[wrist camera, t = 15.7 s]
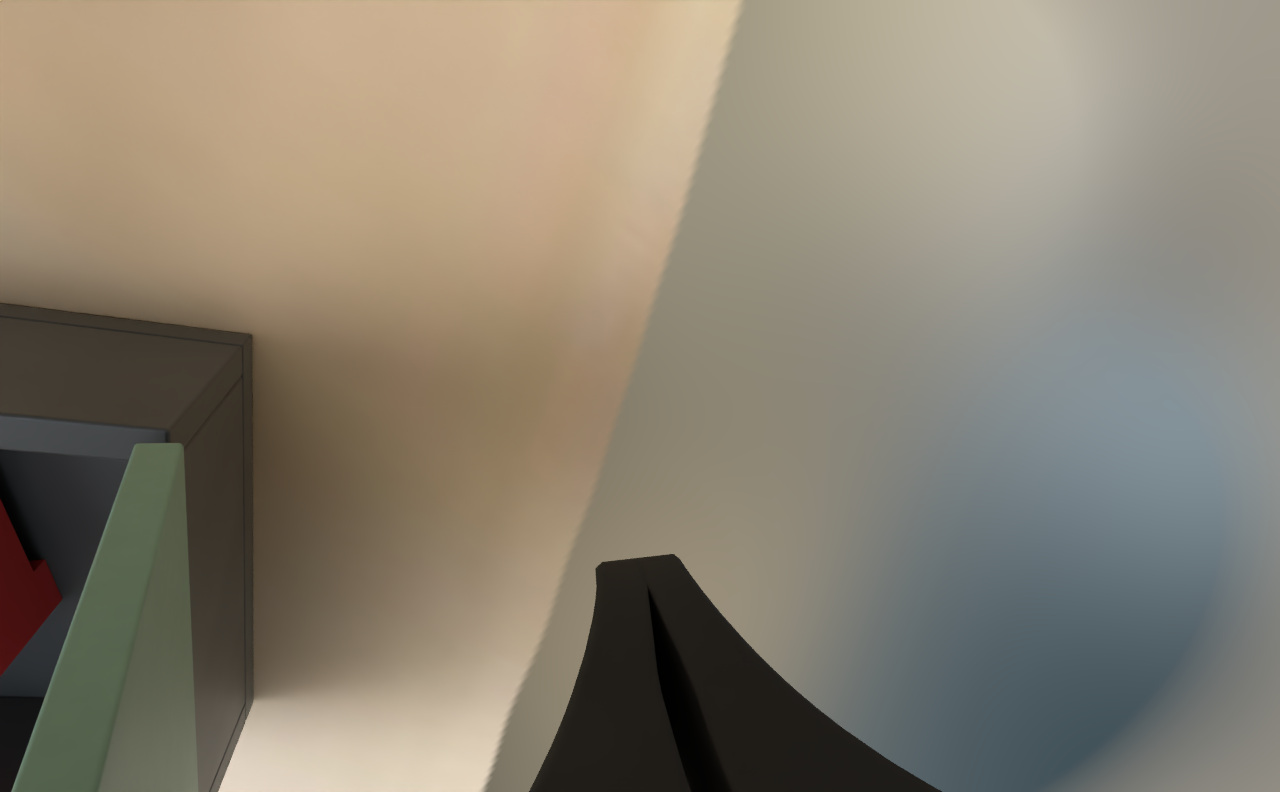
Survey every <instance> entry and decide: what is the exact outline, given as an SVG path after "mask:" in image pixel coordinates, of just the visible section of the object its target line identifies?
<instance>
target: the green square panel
mask: <svg viewBox="0 0 1280 792" xmlns="http://www.w3.org/2000/svg"><path fill="white" fill-rule="evenodd" d="M11 792H198V770H197V746H196V723H195V700H194V677H193V653H192V630H191V607H190V584H189V560H188V537H187V514H186V491H185V467H184V447H183V445H182V444H180V443H139V444H136V445H135V446H134V448H133V450H132V453H131V456H130V459H129V462H128V464H127V467H126V470H125V473H124V476H123V479H122V481H121V484H120V487H119V490H118V493H117V495H116V498H115V501H114V504H113V507H112V510H111V512H110V515H109V518H108V521H107V524H106V527H105V529H104V532H103V535H102V538H101V541H100V543H99V546H98V549H97V552H96V555H95V558H94V560H93V563H92V566H91V569H90V572H89V574H88V577H87V580H86V583H85V586H84V589H83V591H82V594H81V597H80V600H79V603H78V605H77V608H76V611H75V614H74V617H73V620H72V622H71V625H70V628H69V631H68V634H67V636H66V639H65V642H64V645H63V648H62V651H61V653H60V656H59V659H58V662H57V665H56V667H55V670H54V673H53V676H52V679H51V682H50V684H49V687H48V690H47V693H46V696H45V698H44V701H43V704H42V707H41V710H40V713H39V715H38V718H37V721H36V724H35V727H34V729H33V732H32V735H31V738H30V741H29V744H28V746H27V749H26V752H25V755H24V758H23V760H22V763H21V766H20V769H19V772H18V775H17V777H16V780H15V783H14V786H13V789H12V791H11Z"/></svg>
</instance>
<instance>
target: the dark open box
mask: <svg viewBox="0 0 1280 792" xmlns="http://www.w3.org/2000/svg"><path fill="white" fill-rule="evenodd" d="M139 443H180V444H182V445H183V447H184V467H185V491H186V514H187V537H188V560H189V584H190V607H191V630H192V653H193V677H194V700H195V723H196V746H197V770H198V792H218V790H219V788H220V785H221V783H222V780H223V778H224V775H225V772H226V770H227V767H228V765H229V762H230V760H231V757H232V755H233V752H234V749H235V747H236V744H237V742H238V739H239V737H240V734H241V732H242V729H243V726H244V724H245V720H246V719H247V716H248V714H249V711H250V709H251V706H252V703H253V437H252V335H249V334H241V333H233V332H225V331H217V330H209V329H201V328H193V327H185V326H177V325H169V324H161V323H153V322H145V321H137V320H129V319H121V318H113V317H105V316H97V315H89V314H81V313H73V312H65V311H57V310H49V309H41V308H33V307H25V306H17V305H9V304H1V303H0V499H1V501H2V504H3V506H4V508H5V510H6V512H7V515H8V517H9V519H10V521H11V523H12V525H13V528H14V530H15V532H16V534H17V536H18V539H19V541H20V543H21V545H22V547H23V550H24V552H25V554H26V556H27V558H28V561H33V560H43V559H45V561H46V563H47V565H48V567H49V570H50V572H51V574H52V576H53V579H54V581H55V583H56V585H57V588H58V590H59V592H60V594H61V597H62V600H61V602H60V603H59V604H58V605H57V607H56V608H55V609H54V610H53V612H52V613H51V614H50V615H49V617H48V618H47V619H46V620H45V622H44V623H43V624H42V625H41V626H40V628H39V629H38V630H37V631H36V633H35V634H34V635H33V636H32V638H31V639H30V640H29V641H28V643H27V644H26V645H25V646H24V648H23V649H22V650H21V651H20V653H19V654H18V655H17V656H16V658H15V659H14V660H13V661H12V663H11V664H10V665H9V666H8V668H7V669H6V670H5V671H4V673H3V674H2V675H1V676H0V792H11V791H12V789H13V786H14V783H15V780H16V777H17V775H18V772H19V769H20V766H21V763H22V760H23V758H24V755H25V752H26V749H27V746H28V744H29V741H30V738H31V735H32V732H33V729H34V727H35V724H36V721H37V718H38V715H39V713H40V710H41V707H42V704H43V701H44V698H45V696H46V693H47V690H48V687H49V684H50V682H51V679H52V676H53V673H54V670H55V667H56V665H57V662H58V659H59V656H60V653H61V651H62V648H63V645H64V642H65V639H66V636H67V634H68V631H69V628H70V625H71V622H72V620H73V617H74V614H75V611H76V608H77V605H78V603H79V600H80V597H81V594H82V591H83V589H84V586H85V583H86V580H87V577H88V574H89V572H90V569H91V566H92V563H93V560H94V558H95V555H96V552H97V549H98V546H99V543H100V541H101V538H102V535H103V532H104V529H105V527H106V524H107V521H108V518H109V515H110V512H111V510H112V507H113V504H114V501H115V498H116V495H117V493H118V490H119V487H120V484H121V481H122V479H123V476H124V473H125V470H126V467H127V464H128V462H129V459H130V456H131V453H132V450H133V448H134V446H135V445H136V444H139Z"/></svg>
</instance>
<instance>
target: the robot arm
mask: <svg viewBox="0 0 1280 792" xmlns="http://www.w3.org/2000/svg"><path fill="white" fill-rule="evenodd" d="M596 584H597V590H596V601H595V607H594V614H593V620H592V624H591V628H590V633H589V637H588V641H587V646H586V650H585V654H584V657H583V661H582V664H581V667H580V670H579V674H578V677H577V680H576V683H575V686H574V689H573V692H572V695H571V698H570V701H569V704H568V706H567V709H566V712H565V715H564V717H563V720H562V722H561V725H560V727H559V729H558V732H557V734H556V736H555V739H554V741H553V744H552V746H551V748H550V750H549V752H548V754H547V756H546V758H545V760H544V763H543V765H542V767H541V769H540V771H539V773H538V775H537V777H536V779H535V781H534V783H533V785H532V787H531V789H530V791H529V792H942V791H940V790H938V789H936V788H934V787H933V786H931V785H929V784H927V783H926V782H924V781H922V780H921V779H919V778H917V777H915V776H914V775H912V774H911V773H909V772H907V771H906V770H904V769H902V768H901V767H899V766H897V765H896V764H894V763H893V762H891V761H890V760H888V759H886V758H885V757H884V756H882V755H881V754H879V753H877V752H876V751H875V750H873V749H872V748H870V747H869V746H868V745H866V744H865V743H863V742H862V741H860V740H859V739H858V738H856V737H855V736H853V735H852V734H850V733H849V732H847V731H846V730H844V729H843V728H842V727H840V726H839V725H838V724H836V723H835V722H834V721H833V720H832V719H830V718H829V717H828V716H826V715H825V714H824V713H822V712H821V711H820V710H819V709H818V708H816V707H815V706H814V705H813V704H811V703H810V702H809V701H808V700H807V699H806V698H804V697H803V696H802V695H801V694H800V693H798V692H797V691H796V690H795V689H794V688H793V687H792V686H791V685H790V684H788V683H787V682H786V681H785V680H784V679H783V678H782V677H781V676H780V675H779V674H778V673H777V672H776V671H774V670H773V669H772V668H771V667H770V666H769V665H768V664H767V663H766V662H765V661H764V660H763V659H762V658H761V657H760V656H759V655H758V654H757V653H756V652H755V651H754V650H753V649H752V647H751V646H750V645H749V644H748V643H747V642H746V641H745V640H744V639H743V638H742V637H741V636H740V635H739V633H738V632H737V631H736V630H735V629H734V628H733V627H732V626H731V624H730V623H729V622H728V621H727V620H726V619H725V618H724V617H723V616H722V614H721V613H720V612H719V611H718V609H717V608H716V607H715V606H714V605H713V604H712V602H711V601H710V600H709V598H708V597H707V596H706V595H705V593H703V591H702V590H701V588H700V587H699V586H698V584H697V583H696V582H695V580H694V579H693V578H692V576H691V575H690V574H689V572H688V571H687V569H686V568H685V567H684V565H683V563H682V562H681V560H680V559H679V558H678V557H676V556H675V555H674V554H669V555H661V556H652V557H643V558H634V559H625V560H617V561H608V562H602V563H601V564H600V565H599V566H598V567H597V568H596Z"/></svg>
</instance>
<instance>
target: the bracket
mask: <svg viewBox="0 0 1280 792" xmlns="http://www.w3.org/2000/svg"><path fill="white" fill-rule="evenodd" d="M61 600H62V597H61V594H60V592H59V590H58V588H57V585H56V583H55V581H54V579H53V576H52V574H51V572H50V570H49V567H48V565H47V563H46V561H45V559H43V560H33V561H28V558H27V556H26V554H25V552H24V550H23V547H22V545H21V543H20V541H19V539H18V536H17V534H16V532H15V530H14V528H13V525H12V523H11V521H10V519H9V517H8V515H7V512H6V510H5V508H4V506H3V504H2V501H1V499H0V676H1V675H2V674H3V673H4V671H5V670H6V669H7V668H8V666H9V665H10V664H11V663H12V661H13V660H14V659H15V658H16V656H17V655H18V654H19V653H20V651H21V650H22V649H23V648H24V646H25V645H26V644H27V643H28V641H29V640H30V639H31V638H32V636H33V635H34V634H35V633H36V631H37V630H38V629H39V628H40V626H41V625H42V624H43V623H44V622H45V620H46V619H47V618H48V617H49V615H50V614H51V613H52V612H53V610H54V609H55V608H56V607H57V605H58V604H59V603H60V602H61Z"/></svg>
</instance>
